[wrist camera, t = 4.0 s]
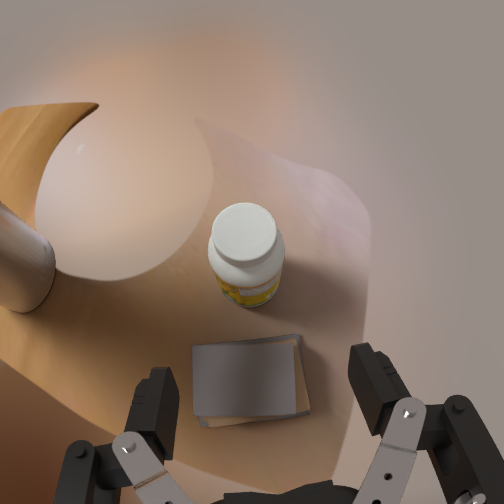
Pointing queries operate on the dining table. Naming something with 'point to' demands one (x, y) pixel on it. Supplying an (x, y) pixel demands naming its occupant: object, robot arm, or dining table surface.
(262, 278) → the supplement bottle
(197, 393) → the offcut stack
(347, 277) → the dining table surface
